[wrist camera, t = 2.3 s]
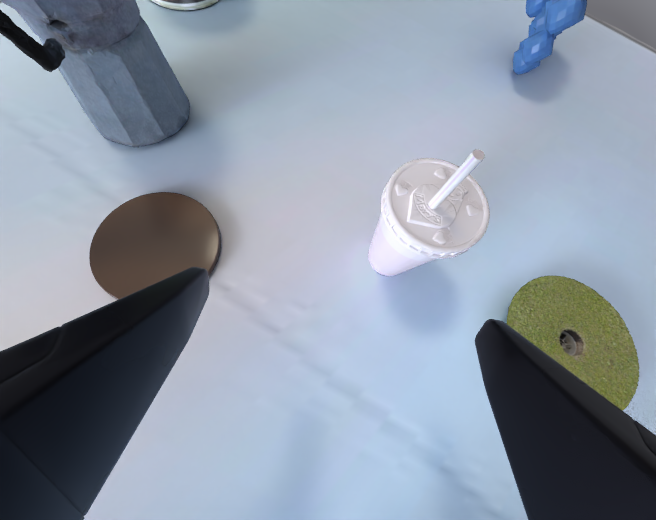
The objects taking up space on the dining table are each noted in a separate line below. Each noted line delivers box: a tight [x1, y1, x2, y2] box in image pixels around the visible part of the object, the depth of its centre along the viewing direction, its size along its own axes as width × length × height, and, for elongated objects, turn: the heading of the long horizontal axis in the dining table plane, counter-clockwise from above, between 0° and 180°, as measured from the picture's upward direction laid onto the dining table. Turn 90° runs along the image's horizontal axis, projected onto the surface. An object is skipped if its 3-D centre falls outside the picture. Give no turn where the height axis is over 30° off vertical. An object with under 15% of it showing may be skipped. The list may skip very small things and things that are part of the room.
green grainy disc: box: [507, 276, 639, 410], centre depth 23 cm, size 11×11×2 cm
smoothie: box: [368, 149, 490, 276], centre depth 18 cm, size 6×6×14 cm
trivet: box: [90, 192, 221, 299], centre depth 23 cm, size 10×10×1 cm
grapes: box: [513, 0, 587, 75], centre depth 30 cm, size 12×7×12 cm, turn 147°
